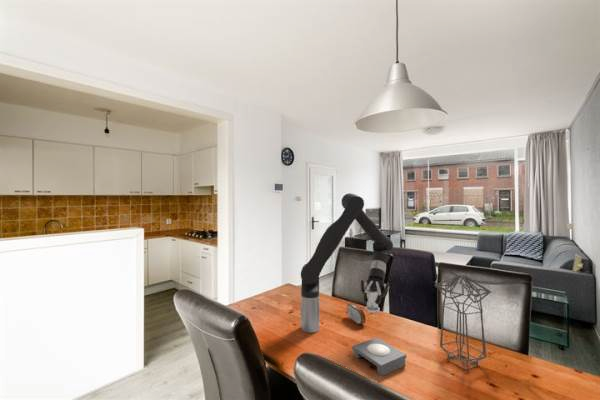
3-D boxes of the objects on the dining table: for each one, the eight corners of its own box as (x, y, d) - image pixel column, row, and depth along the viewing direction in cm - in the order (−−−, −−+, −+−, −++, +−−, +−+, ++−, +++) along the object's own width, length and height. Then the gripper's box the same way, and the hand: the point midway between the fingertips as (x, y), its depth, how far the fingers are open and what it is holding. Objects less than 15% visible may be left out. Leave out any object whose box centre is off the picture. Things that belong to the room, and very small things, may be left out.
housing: (362, 309, 130) (362, 289, 130) (372, 306, 133) (372, 287, 133) (372, 314, 124) (372, 293, 124) (382, 311, 127) (382, 291, 127)
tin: (366, 326, 141) (365, 310, 141) (361, 327, 140) (360, 311, 140) (350, 315, 155) (350, 300, 155) (345, 316, 154) (345, 301, 154)
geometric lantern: (432, 356, 113) (431, 272, 115) (459, 349, 119) (458, 269, 120) (467, 378, 99) (465, 281, 100) (496, 369, 104) (494, 277, 105)
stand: (352, 355, 114) (352, 345, 114) (376, 346, 121) (376, 336, 121) (381, 376, 100) (381, 364, 100) (406, 365, 107) (406, 353, 107)
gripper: (362, 265, 139) (354, 296, 128) (391, 269, 132) (385, 301, 121) (365, 273, 143) (358, 303, 133) (393, 277, 136) (388, 309, 126)
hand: (371, 302), depth 127 cm, fingers closed on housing, 5 cm apart
